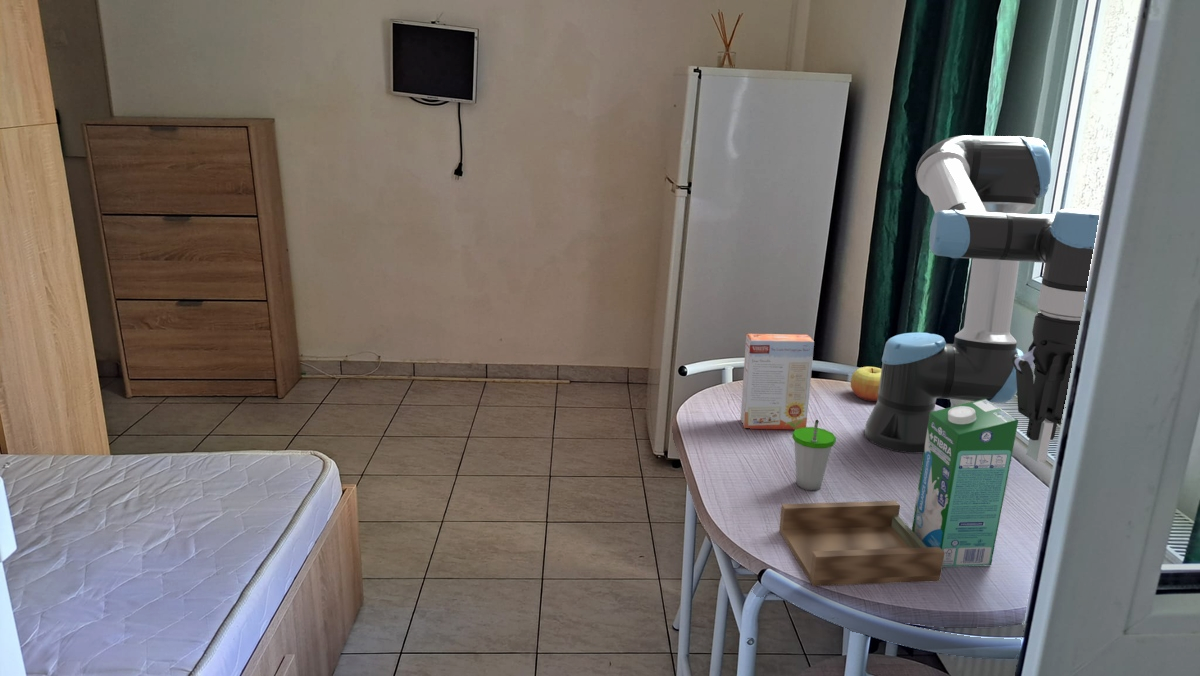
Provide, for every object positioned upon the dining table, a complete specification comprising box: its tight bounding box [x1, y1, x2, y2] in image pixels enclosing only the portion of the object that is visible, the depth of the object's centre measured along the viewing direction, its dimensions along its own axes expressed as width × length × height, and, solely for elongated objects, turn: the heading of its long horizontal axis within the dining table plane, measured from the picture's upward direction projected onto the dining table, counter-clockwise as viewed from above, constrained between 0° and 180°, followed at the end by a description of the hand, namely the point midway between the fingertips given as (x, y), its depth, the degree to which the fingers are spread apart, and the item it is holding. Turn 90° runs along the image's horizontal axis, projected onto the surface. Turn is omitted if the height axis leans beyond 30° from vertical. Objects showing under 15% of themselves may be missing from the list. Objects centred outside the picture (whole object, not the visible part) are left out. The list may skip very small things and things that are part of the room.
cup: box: [791, 419, 837, 491], centre depth 147 cm, size 8×8×15 cm
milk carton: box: [911, 399, 1019, 568], centre depth 124 cm, size 9×9×25 cm
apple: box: [850, 366, 882, 402], centre depth 194 cm, size 10×10×8 cm
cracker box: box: [740, 333, 815, 431], centre depth 174 cm, size 14×6×21 cm, turn 89°
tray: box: [778, 500, 945, 587], centre depth 125 cm, size 20×16×5 cm
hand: (1035, 457), depth 124 cm, fingers closed
